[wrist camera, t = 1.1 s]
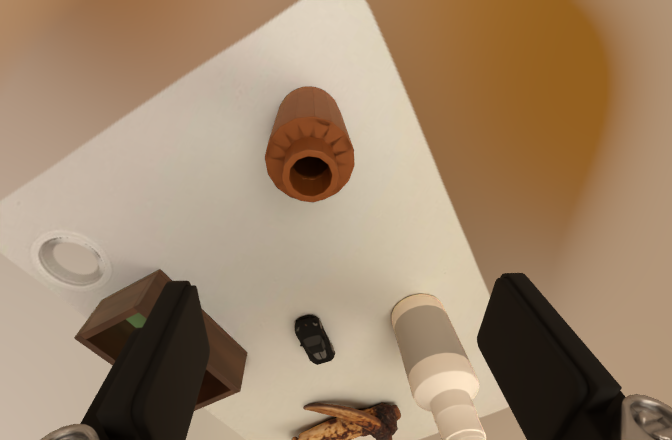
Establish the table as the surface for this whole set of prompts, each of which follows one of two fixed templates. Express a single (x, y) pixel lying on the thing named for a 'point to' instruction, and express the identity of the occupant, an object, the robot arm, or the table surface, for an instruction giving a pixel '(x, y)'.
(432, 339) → the spray bottle
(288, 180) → the bottle
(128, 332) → the holder
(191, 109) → the table surface
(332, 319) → the table surface
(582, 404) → the robot arm
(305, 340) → the toy car
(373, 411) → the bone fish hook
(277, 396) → the table surface
